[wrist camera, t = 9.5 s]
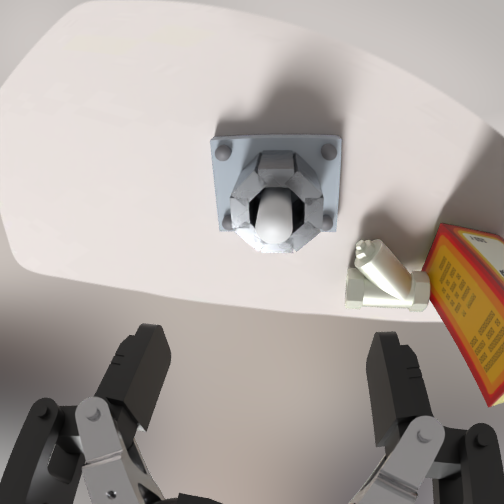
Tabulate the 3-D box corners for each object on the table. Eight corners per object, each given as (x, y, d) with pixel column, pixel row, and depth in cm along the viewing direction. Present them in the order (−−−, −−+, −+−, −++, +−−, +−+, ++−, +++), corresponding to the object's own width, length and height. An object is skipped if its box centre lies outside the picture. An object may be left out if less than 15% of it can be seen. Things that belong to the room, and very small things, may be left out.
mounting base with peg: (338, 135, 23) (363, 164, 16) (333, 223, 27) (349, 282, 20) (214, 136, 24) (182, 166, 17) (222, 223, 28) (201, 280, 21)
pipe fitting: (349, 230, 28) (345, 291, 31) (350, 250, 24) (344, 314, 27) (430, 235, 25) (418, 294, 28) (440, 255, 22) (424, 318, 25)
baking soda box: (499, 235, 25) (587, 334, 12) (476, 283, 29) (545, 387, 15) (440, 222, 25) (545, 348, 11) (417, 280, 28) (490, 411, 14)
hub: (317, 150, 22) (325, 169, 18) (314, 220, 25) (320, 253, 21) (238, 151, 23) (227, 170, 19) (243, 220, 26) (234, 252, 22)
